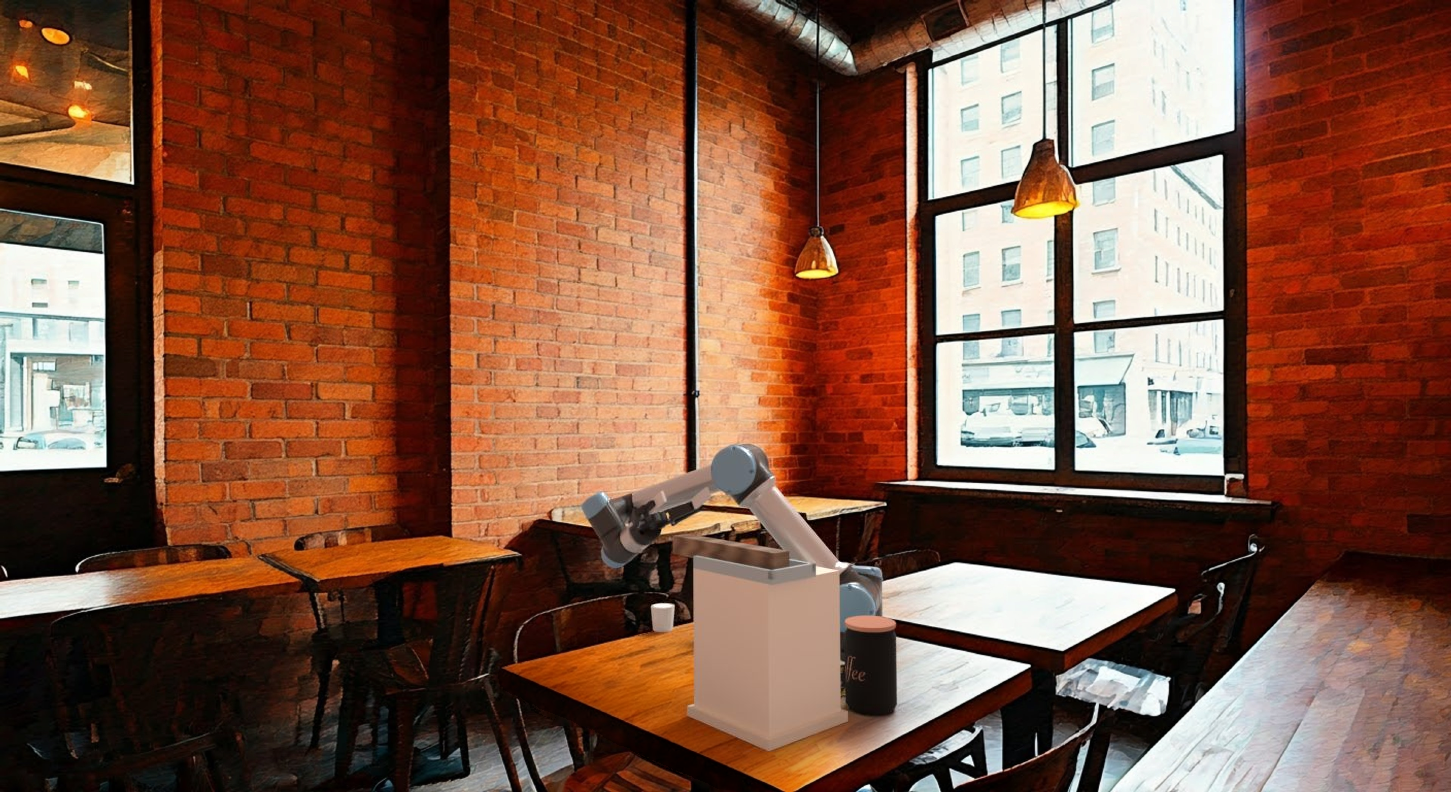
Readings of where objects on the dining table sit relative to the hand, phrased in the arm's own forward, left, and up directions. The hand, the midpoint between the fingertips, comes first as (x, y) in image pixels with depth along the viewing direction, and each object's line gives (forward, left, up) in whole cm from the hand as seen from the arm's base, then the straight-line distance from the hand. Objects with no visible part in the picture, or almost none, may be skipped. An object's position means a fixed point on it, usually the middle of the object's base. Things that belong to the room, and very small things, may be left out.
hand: (686, 494), depth 190 cm
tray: (-18, +26, -13) cm, 34 cm away
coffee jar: (-42, +14, -43) cm, 62 cm away
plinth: (-21, +23, -43) cm, 53 cm away
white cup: (+16, -42, -43) cm, 63 cm away
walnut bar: (-13, +21, -12) cm, 27 cm away
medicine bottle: (-32, +6, -43) cm, 54 cm away
